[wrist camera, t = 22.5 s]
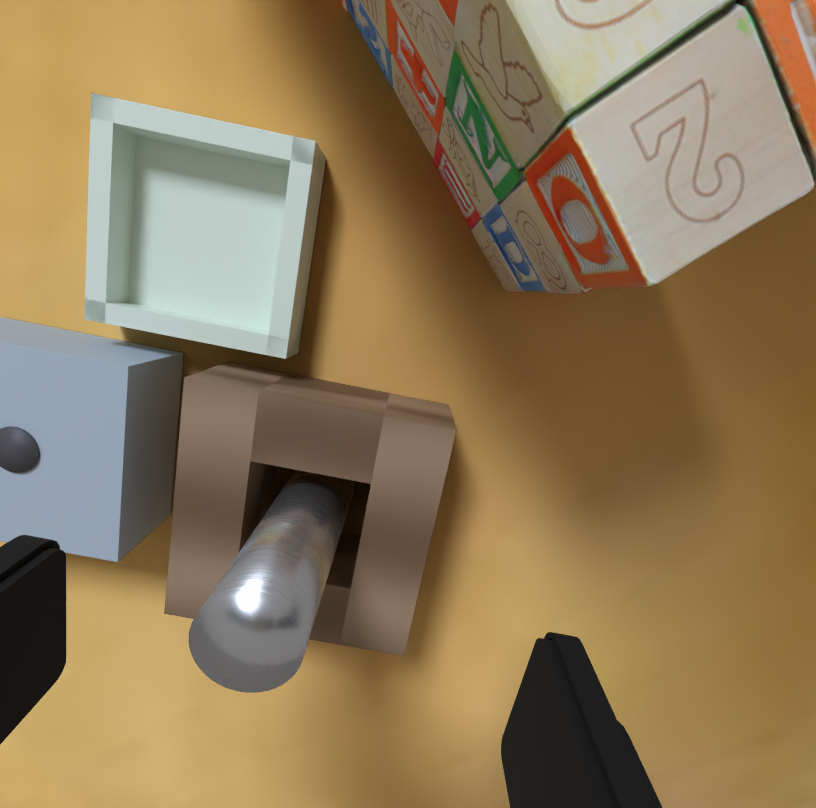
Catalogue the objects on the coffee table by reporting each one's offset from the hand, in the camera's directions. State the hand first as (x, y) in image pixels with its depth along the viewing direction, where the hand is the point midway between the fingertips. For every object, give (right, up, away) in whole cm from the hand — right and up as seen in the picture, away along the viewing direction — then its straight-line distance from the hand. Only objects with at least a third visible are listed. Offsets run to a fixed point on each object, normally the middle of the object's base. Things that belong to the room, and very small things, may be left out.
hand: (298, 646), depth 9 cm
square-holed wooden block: (-2, +1, +13) cm, 13 cm away
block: (-13, +4, +12) cm, 18 cm away
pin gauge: (-2, +1, +13) cm, 13 cm away
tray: (-6, +12, +10) cm, 16 cm away
